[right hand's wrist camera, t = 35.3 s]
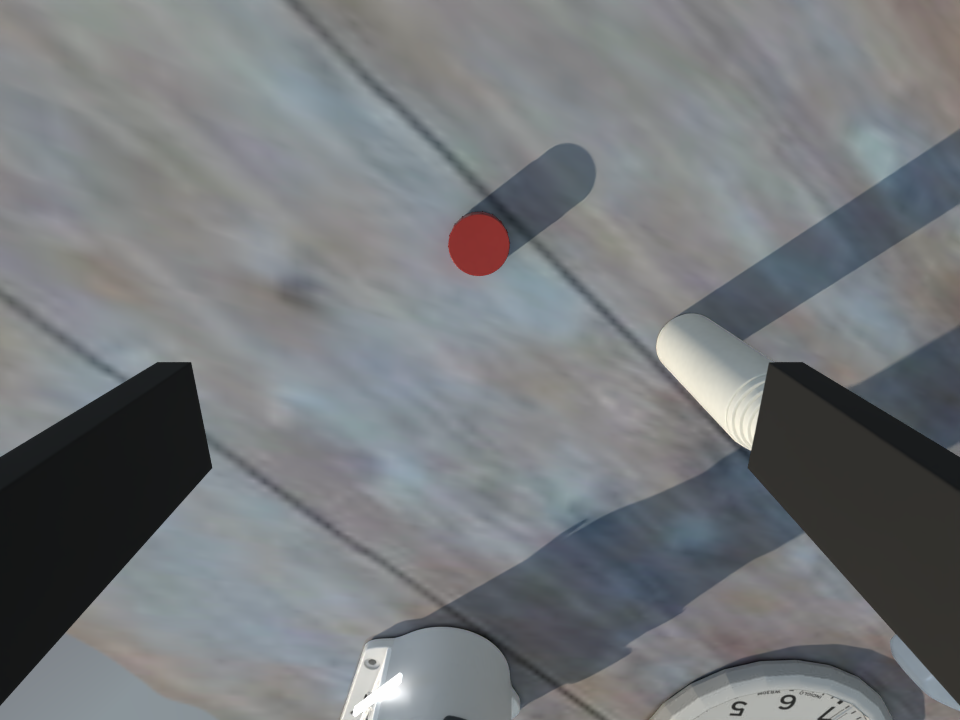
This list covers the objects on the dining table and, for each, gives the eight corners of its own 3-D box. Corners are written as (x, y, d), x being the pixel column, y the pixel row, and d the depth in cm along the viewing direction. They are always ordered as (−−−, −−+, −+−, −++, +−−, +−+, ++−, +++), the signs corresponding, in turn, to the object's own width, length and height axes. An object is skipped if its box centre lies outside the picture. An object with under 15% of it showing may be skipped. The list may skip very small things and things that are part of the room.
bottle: (652, 371, 46) (762, 501, 28) (660, 312, 44) (783, 411, 26) (712, 372, 46) (861, 503, 28) (723, 313, 44) (889, 413, 26)
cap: (509, 269, 42) (511, 274, 40) (451, 272, 43) (450, 278, 40) (507, 209, 41) (509, 211, 39) (447, 213, 41) (445, 215, 39)
